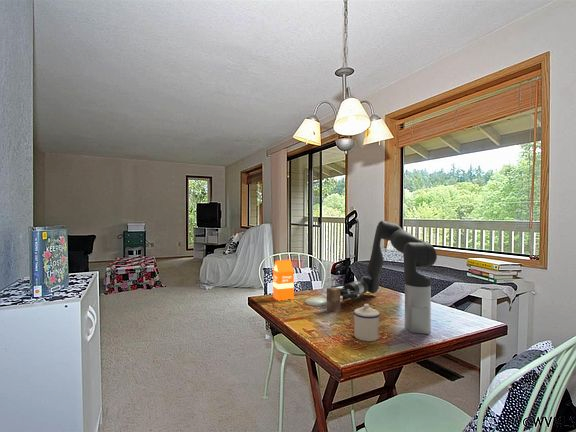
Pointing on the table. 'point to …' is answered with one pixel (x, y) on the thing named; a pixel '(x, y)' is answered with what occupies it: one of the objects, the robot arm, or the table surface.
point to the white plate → (316, 301)
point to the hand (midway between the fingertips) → (335, 296)
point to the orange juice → (283, 280)
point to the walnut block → (333, 299)
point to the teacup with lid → (366, 323)
